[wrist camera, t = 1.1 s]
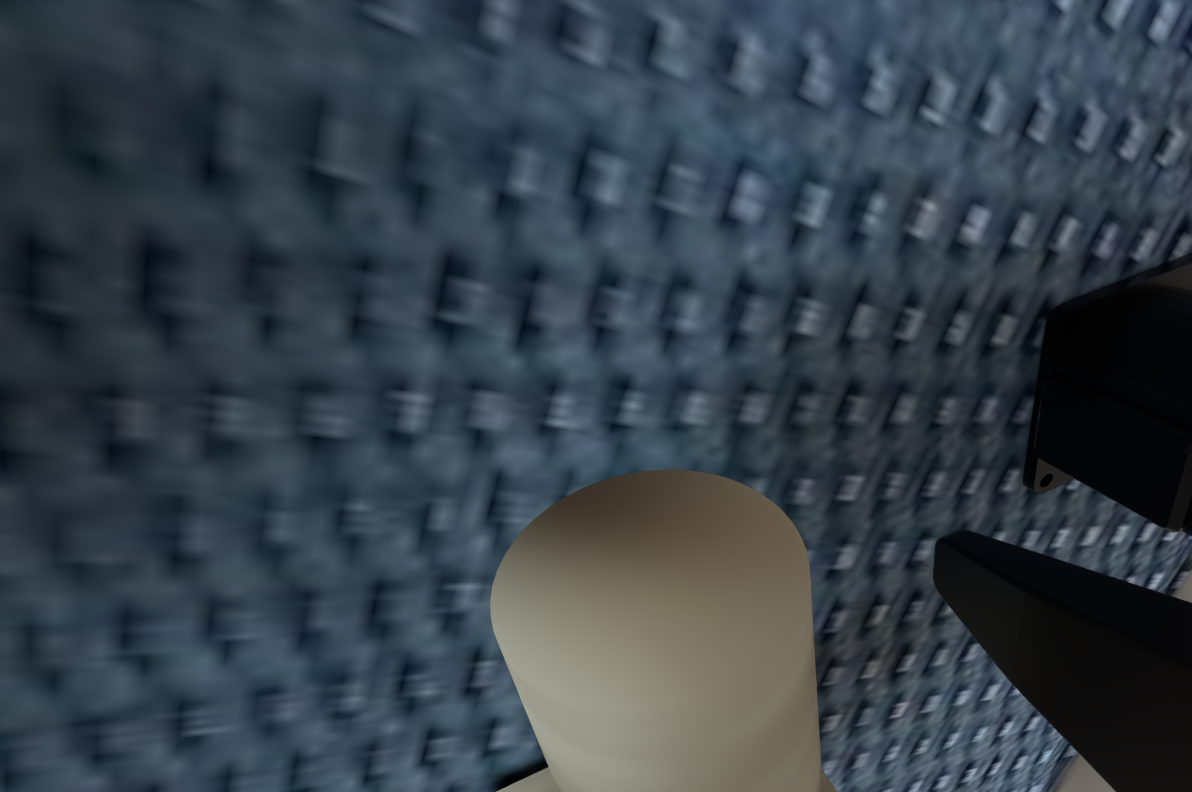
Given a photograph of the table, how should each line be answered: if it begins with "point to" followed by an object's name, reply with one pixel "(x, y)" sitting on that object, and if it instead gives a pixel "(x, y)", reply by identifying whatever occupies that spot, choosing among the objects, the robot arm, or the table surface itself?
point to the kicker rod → (663, 639)
